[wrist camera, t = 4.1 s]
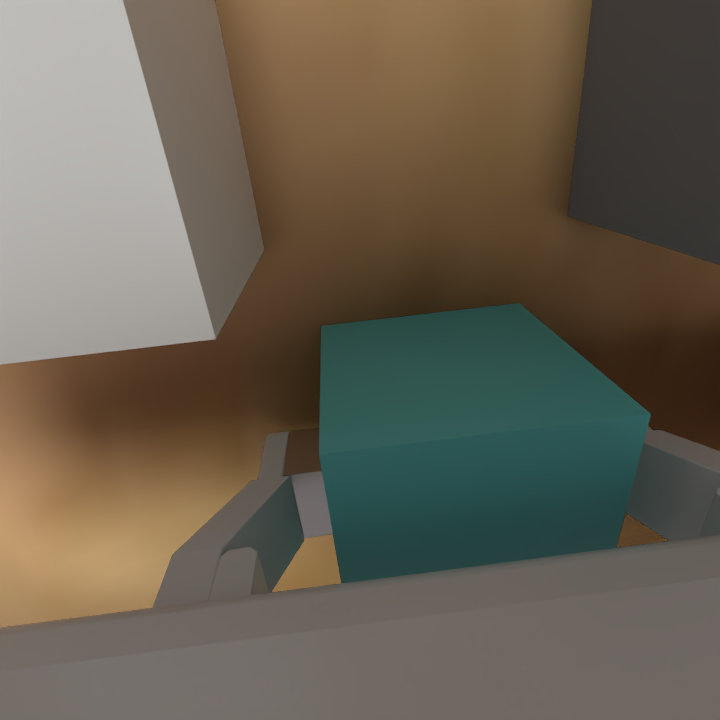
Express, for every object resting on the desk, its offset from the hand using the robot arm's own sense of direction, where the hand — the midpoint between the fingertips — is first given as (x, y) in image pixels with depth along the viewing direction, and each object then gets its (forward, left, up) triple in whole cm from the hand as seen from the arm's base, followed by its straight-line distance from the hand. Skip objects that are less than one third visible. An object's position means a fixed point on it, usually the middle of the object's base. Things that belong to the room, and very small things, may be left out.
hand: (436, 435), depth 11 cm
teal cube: (0, 0, -2) cm, 2 cm away
